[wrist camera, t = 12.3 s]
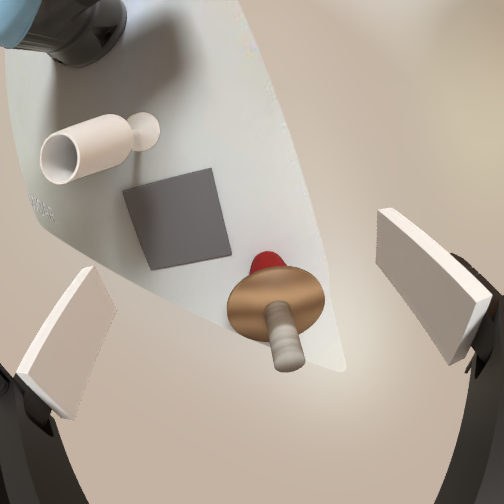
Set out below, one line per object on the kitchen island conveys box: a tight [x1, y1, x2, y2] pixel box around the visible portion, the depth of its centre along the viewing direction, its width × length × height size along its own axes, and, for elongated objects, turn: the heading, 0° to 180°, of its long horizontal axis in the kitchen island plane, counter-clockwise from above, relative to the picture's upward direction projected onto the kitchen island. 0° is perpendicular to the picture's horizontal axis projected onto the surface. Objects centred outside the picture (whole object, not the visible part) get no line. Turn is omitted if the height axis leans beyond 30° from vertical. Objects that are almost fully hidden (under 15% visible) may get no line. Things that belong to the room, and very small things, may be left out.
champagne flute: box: [40, 112, 160, 184], centre depth 29 cm, size 7×7×24 cm
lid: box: [227, 266, 325, 372], centre depth 38 cm, size 15×15×11 cm
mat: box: [123, 168, 232, 270], centre depth 47 cm, size 16×16×1 cm
